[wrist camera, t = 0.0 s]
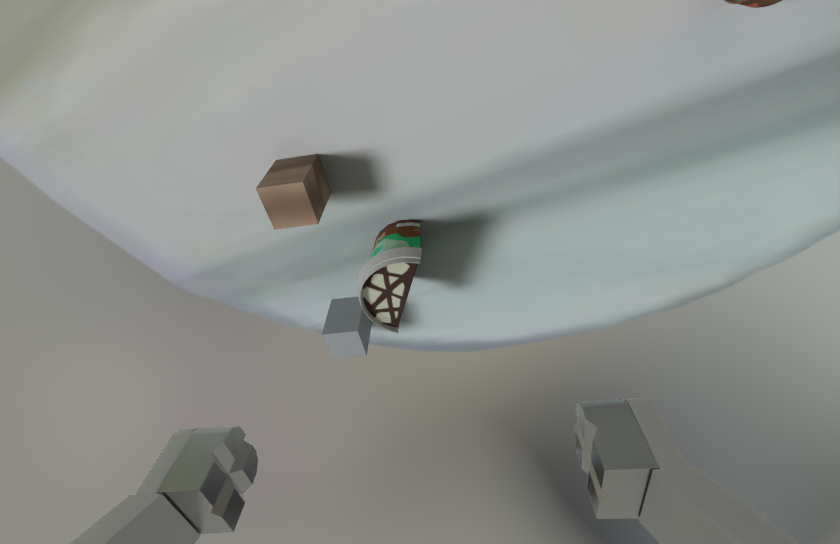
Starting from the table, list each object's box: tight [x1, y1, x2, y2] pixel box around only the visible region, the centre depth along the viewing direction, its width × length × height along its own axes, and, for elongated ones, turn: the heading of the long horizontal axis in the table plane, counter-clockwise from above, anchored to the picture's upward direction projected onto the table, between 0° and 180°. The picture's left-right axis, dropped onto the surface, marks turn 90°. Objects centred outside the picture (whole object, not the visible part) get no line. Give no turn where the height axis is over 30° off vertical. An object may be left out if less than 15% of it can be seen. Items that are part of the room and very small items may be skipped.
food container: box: [357, 220, 422, 333], centre depth 50 cm, size 12×6×10 cm, turn 166°
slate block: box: [322, 297, 372, 358], centre depth 59 cm, size 5×5×7 cm
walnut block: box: [256, 154, 331, 229], centre depth 45 cm, size 5×5×7 cm
